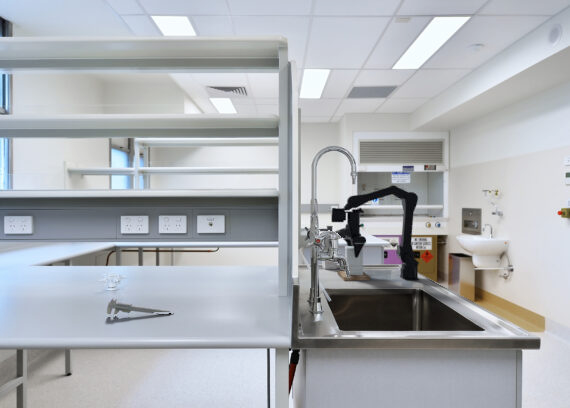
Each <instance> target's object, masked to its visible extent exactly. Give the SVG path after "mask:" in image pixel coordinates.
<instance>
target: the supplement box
mask: <svg viewBox="0 0 570 408" xmlns="http://www.w3.org/2000/svg"><path fill="white" fill-rule="evenodd" d="M363 256H364V249H363V248H362V249H361V251H360V254H359V256H358V258H355V254H354V247H353V246H347V245H345V246H344V259H345V258H346V260H347V262H348V264H349V271H350V275H363V272H364V259H363V258H364V257H363Z"/></svg>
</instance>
